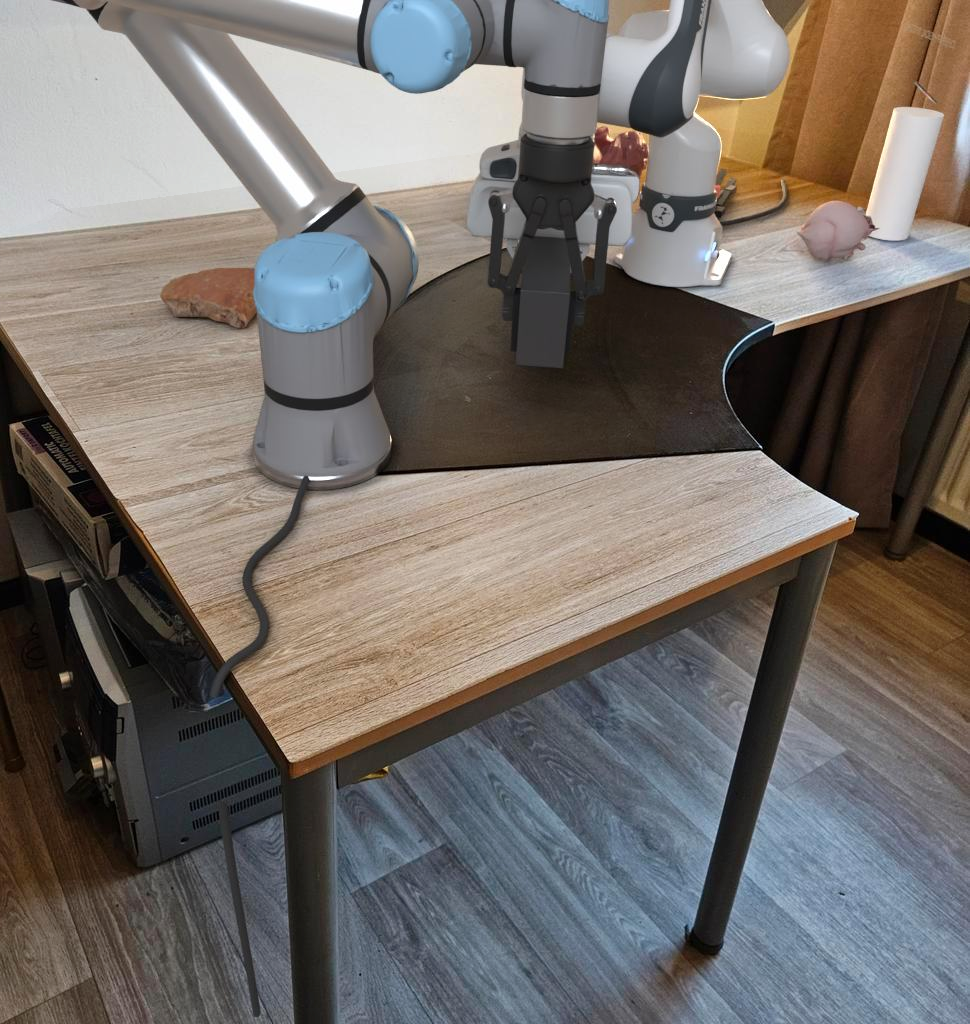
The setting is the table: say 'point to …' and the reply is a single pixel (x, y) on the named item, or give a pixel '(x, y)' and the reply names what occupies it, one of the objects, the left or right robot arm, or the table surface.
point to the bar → (544, 304)
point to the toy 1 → (724, 192)
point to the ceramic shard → (213, 295)
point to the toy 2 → (836, 230)
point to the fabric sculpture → (621, 150)
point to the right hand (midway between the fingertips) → (544, 274)
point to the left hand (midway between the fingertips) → (540, 347)
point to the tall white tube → (903, 167)
